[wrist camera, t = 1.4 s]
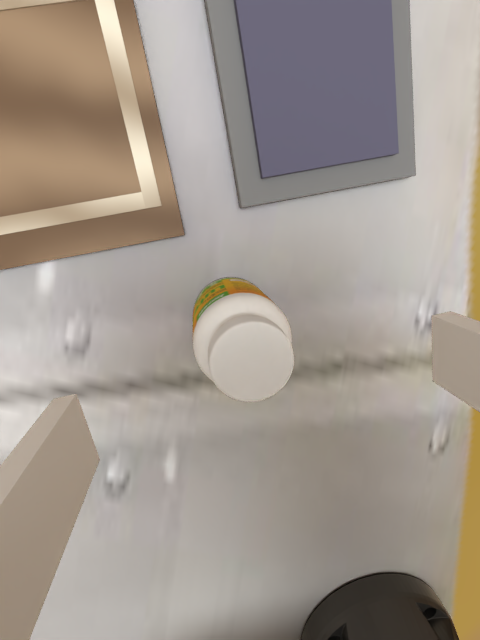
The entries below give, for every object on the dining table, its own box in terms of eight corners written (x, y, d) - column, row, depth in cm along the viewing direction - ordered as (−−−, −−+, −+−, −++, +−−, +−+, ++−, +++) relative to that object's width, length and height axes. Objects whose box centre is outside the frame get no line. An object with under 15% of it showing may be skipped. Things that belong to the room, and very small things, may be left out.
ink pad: (406, 177, 24) (421, 173, 23) (240, 208, 23) (243, 207, 22) (395, -74, 20) (412, -99, 19) (195, -49, 19) (195, -74, 18)
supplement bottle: (213, 262, 24) (226, 284, 15) (279, 296, 25) (330, 335, 16) (180, 330, 25) (172, 391, 15) (245, 359, 26) (275, 432, 17)
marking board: (184, 234, 23) (184, 234, 22) (-32, 275, 22) (-41, 277, 21) (119, -63, 19) (115, -77, 18) (-155, -31, 18) (-173, -44, 17)
